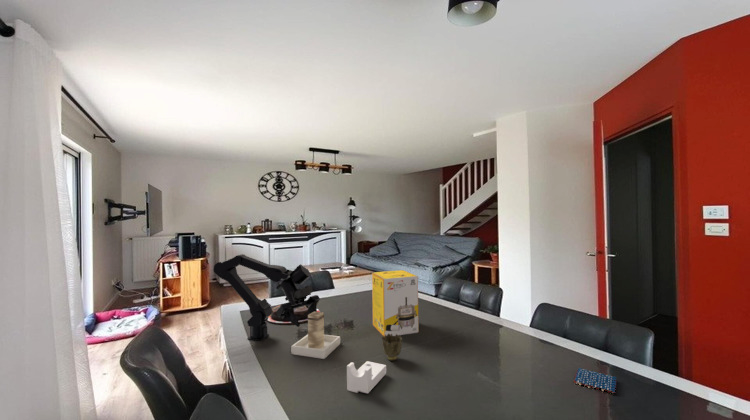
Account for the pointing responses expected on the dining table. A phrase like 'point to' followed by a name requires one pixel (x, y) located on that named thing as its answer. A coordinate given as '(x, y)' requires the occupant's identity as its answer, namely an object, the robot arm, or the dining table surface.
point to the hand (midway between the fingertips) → (308, 323)
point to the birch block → (316, 330)
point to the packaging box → (395, 302)
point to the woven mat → (595, 380)
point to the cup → (392, 346)
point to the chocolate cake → (299, 313)
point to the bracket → (364, 376)
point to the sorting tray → (322, 353)
